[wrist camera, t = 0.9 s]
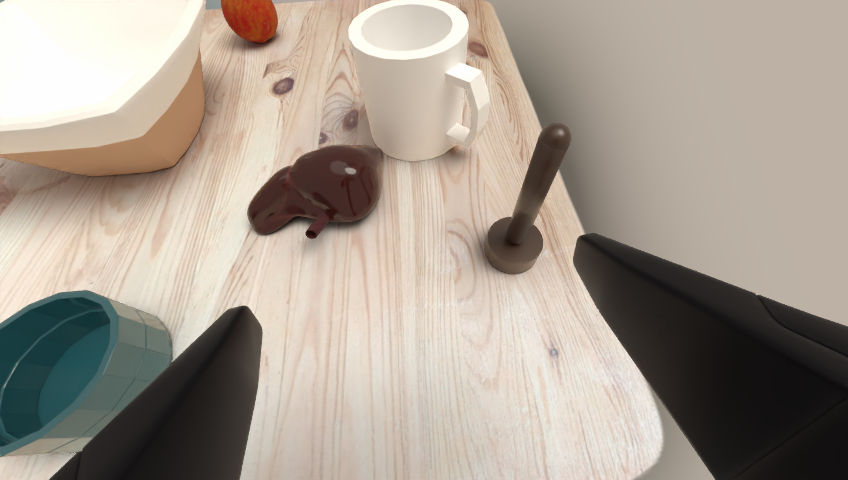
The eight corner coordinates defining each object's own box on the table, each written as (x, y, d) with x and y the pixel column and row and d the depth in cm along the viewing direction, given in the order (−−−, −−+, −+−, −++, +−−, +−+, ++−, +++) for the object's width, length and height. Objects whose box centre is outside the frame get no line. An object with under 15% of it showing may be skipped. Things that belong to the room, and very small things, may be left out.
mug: (504, 131, 35) (527, 26, 25) (451, 190, 31) (456, 90, 22) (409, 90, 39) (400, -12, 30) (353, 136, 35) (322, 35, 26)
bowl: (219, 209, 31) (126, 118, 22) (-25, 226, 31) (-217, 144, 22) (268, 70, 43) (222, -25, 34) (92, 84, 43) (0, -7, 34)
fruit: (294, 32, 48) (270, -33, 41) (264, 56, 45) (232, -11, 38) (261, 24, 50) (232, -40, 43) (229, 46, 47) (193, -19, 40)
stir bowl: (179, 407, 22) (115, 403, 18) (26, 482, 20) (-87, 497, 16) (171, 294, 26) (119, 268, 22) (46, 346, 24) (-38, 330, 20)
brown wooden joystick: (547, 260, 26) (625, 138, 15) (503, 282, 25) (552, 170, 14) (516, 222, 28) (565, 90, 17) (475, 241, 28) (498, 116, 16)
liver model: (396, 193, 34) (369, 232, 25) (297, 208, 36) (237, 249, 27) (381, 131, 31) (346, 148, 22) (276, 151, 34) (201, 175, 24)
